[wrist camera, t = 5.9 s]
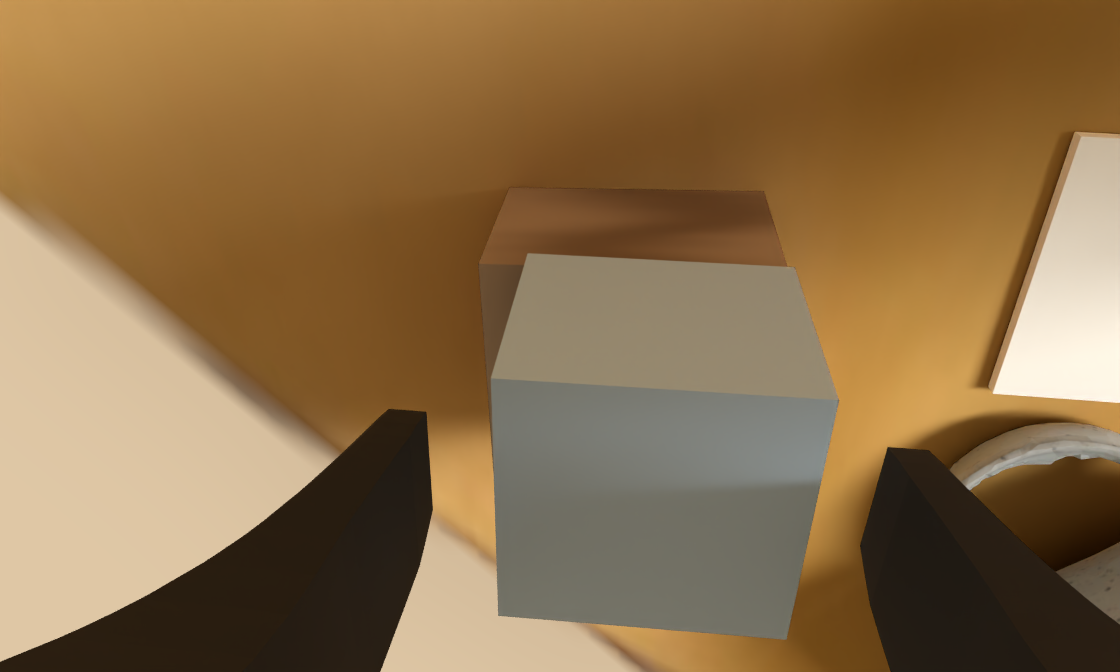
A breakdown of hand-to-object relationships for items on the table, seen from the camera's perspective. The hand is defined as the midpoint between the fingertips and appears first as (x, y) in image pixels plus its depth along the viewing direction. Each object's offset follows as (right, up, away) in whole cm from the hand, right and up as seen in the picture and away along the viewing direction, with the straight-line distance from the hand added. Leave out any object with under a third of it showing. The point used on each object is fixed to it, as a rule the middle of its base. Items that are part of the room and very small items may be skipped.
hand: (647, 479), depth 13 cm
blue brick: (0, +2, +2) cm, 3 cm away
